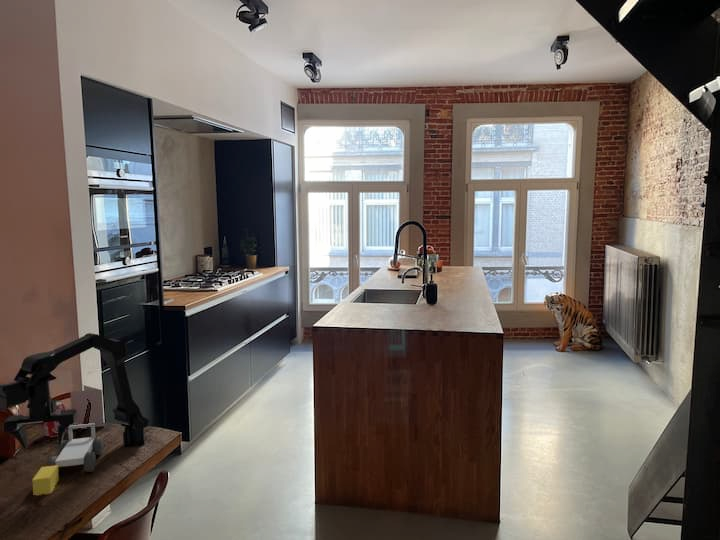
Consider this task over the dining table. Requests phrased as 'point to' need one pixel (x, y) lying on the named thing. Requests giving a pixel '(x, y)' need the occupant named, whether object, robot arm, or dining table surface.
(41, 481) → the block
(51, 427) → the soda can
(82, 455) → the trolley
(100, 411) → the greeting card
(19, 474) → the dining table surface
